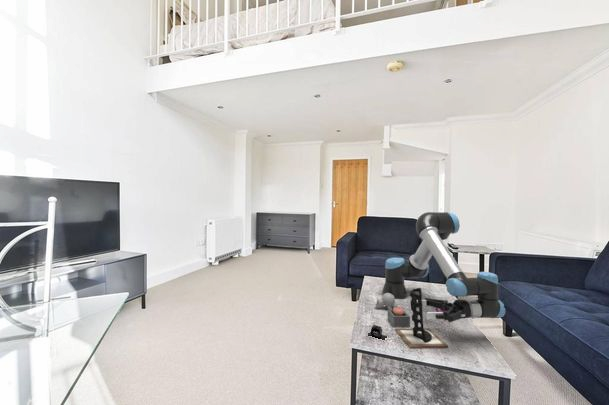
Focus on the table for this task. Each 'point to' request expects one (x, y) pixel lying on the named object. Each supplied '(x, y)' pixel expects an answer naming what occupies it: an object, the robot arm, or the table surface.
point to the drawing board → (418, 343)
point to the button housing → (398, 319)
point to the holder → (415, 316)
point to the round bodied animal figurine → (386, 301)
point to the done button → (398, 311)
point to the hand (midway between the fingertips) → (419, 309)
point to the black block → (377, 332)
